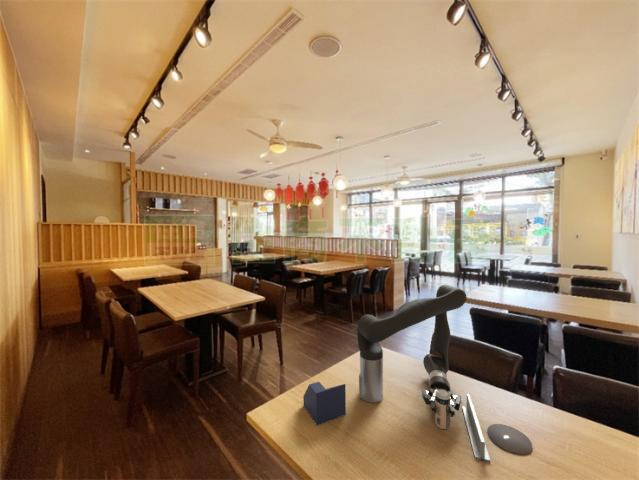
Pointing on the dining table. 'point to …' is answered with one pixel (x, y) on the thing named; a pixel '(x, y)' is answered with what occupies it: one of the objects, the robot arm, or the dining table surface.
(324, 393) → the phone stand
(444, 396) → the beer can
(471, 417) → the low wall
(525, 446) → the coaster
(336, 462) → the dining table surface
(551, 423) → the dining table surface
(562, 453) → the dining table surface
